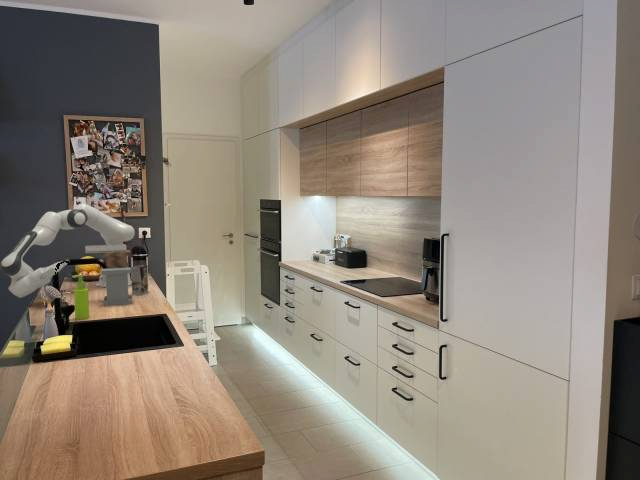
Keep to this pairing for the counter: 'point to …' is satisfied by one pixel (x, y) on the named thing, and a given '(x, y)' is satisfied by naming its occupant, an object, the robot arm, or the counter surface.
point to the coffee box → (139, 279)
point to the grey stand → (116, 286)
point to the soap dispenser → (81, 299)
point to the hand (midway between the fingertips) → (67, 261)
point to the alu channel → (105, 248)
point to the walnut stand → (117, 262)
